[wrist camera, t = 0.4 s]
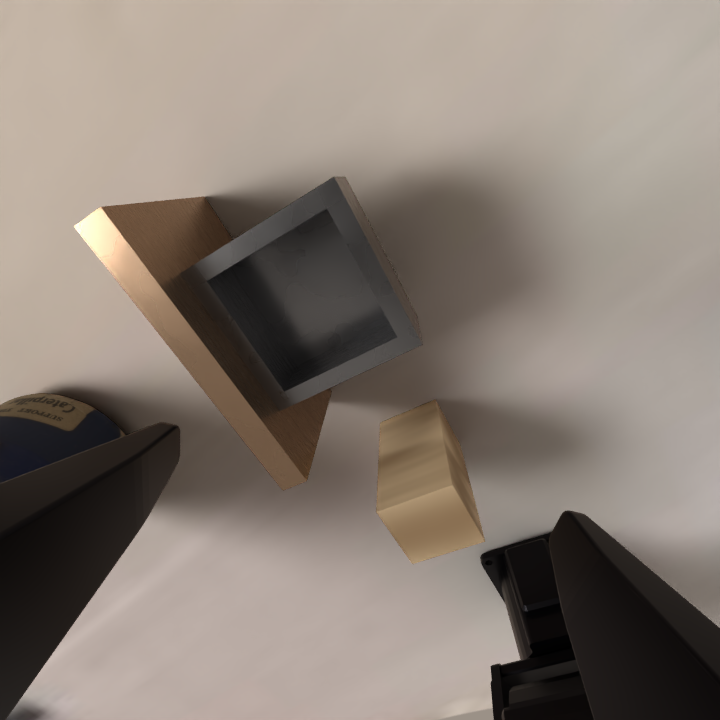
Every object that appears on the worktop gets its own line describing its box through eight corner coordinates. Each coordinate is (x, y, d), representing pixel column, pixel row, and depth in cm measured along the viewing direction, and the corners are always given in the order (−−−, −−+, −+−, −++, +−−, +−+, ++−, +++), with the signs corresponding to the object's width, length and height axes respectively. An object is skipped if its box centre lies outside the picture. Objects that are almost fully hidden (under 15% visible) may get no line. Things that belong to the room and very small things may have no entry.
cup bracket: (436, 343, 21) (457, 420, 14) (246, 430, 25) (192, 527, 18) (320, 117, 17) (275, 78, 10) (113, 258, 21) (-24, 298, 14)
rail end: (460, 445, 24) (485, 541, 18) (406, 465, 25) (412, 563, 19) (435, 399, 23) (452, 485, 16) (380, 422, 24) (376, 512, 17)
